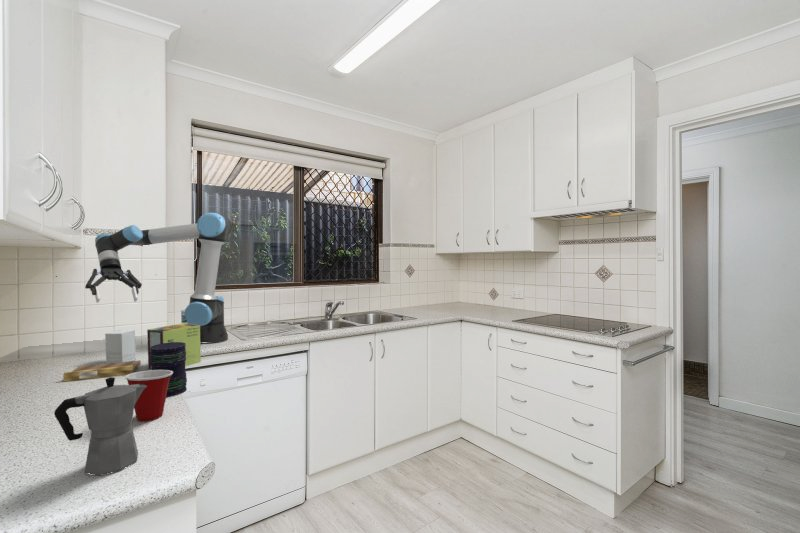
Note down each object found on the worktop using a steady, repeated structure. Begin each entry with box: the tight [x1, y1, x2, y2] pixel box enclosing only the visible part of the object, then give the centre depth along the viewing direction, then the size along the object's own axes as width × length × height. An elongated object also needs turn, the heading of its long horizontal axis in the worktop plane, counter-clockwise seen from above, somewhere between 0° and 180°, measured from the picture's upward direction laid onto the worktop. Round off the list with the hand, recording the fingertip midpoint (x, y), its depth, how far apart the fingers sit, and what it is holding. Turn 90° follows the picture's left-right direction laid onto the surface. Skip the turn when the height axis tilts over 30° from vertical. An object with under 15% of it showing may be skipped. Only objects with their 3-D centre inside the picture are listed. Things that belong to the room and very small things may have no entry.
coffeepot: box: [53, 376, 147, 476], centre depth 78 cm, size 15×9×18 cm, turn 144°
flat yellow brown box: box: [63, 359, 142, 382], centre depth 144 cm, size 20×15×3 cm
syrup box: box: [180, 308, 190, 324], centre depth 214 cm, size 6×6×14 cm
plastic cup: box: [124, 369, 173, 422], centre depth 103 cm, size 11×11×12 cm
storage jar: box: [150, 342, 188, 398], centre depth 122 cm, size 10×10×15 cm
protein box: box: [146, 323, 202, 370], centre depth 153 cm, size 10×15×16 cm
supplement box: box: [104, 329, 137, 364], centre depth 159 cm, size 7×7×13 cm
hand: (117, 300), depth 165 cm, fingers open, 13 cm apart
